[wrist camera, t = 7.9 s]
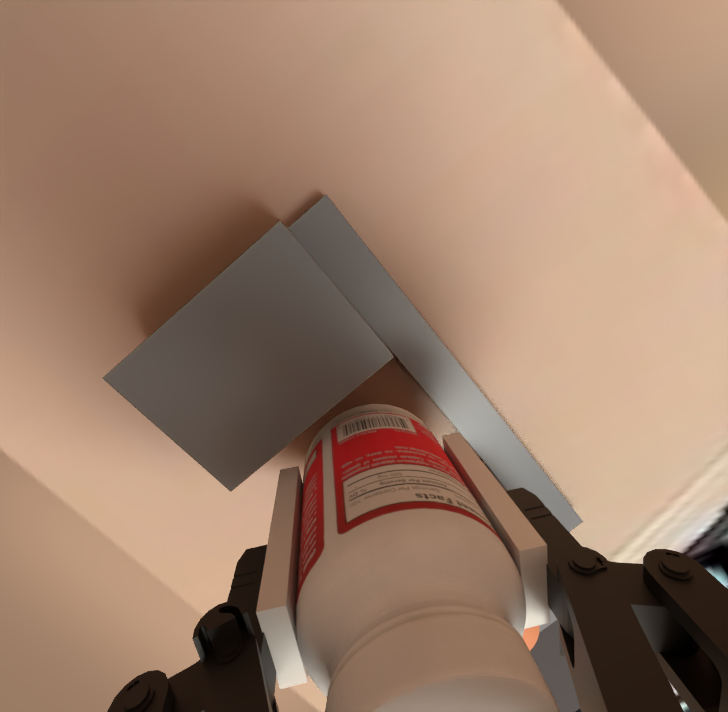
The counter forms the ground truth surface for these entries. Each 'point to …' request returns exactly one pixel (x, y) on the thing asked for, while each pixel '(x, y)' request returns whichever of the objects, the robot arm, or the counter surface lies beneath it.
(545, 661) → the mat
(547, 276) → the counter surface
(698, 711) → the robot arm
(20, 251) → the counter surface
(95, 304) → the counter surface
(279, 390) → the housing
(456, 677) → the pill bottle
